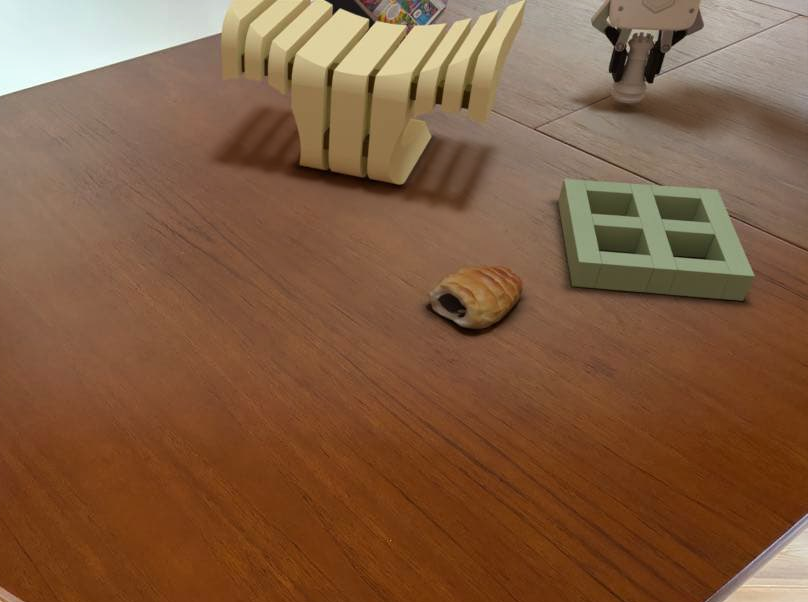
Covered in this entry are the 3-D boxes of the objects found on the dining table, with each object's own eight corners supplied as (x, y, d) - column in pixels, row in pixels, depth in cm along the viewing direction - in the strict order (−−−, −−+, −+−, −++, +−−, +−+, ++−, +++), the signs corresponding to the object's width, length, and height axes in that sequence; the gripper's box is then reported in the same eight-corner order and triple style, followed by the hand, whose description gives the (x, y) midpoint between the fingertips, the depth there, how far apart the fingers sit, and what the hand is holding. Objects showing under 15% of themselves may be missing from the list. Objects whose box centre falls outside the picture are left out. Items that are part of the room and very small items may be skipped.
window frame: (708, 213, 96) (717, 189, 94) (743, 301, 84) (755, 276, 82) (557, 202, 98) (564, 178, 96) (571, 286, 86) (578, 261, 84)
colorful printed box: (432, -4, 133) (384, -112, 121) (501, 41, 117) (454, -77, 105) (325, 79, 136) (268, -18, 124) (379, 133, 121) (319, 29, 109)
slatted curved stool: (226, 162, 105) (219, 11, 93) (275, 109, 116) (275, -34, 103) (468, 210, 97) (496, 51, 84) (497, 148, 107) (526, -2, 95)
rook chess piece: (607, 101, 114) (623, 40, 108) (610, 88, 117) (626, 27, 111) (643, 106, 112) (660, 44, 107) (645, 92, 115) (662, 31, 110)
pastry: (485, 271, 88) (492, 240, 85) (538, 303, 84) (546, 271, 82) (421, 306, 84) (426, 274, 81) (473, 341, 80) (480, 309, 77)
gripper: (603, -69, 99) (569, 88, 111) (756, -66, 96) (703, 93, 109) (596, -86, 104) (564, 65, 117) (740, -84, 102) (692, 70, 114)
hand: (632, 77), depth 113 cm, fingers closed on rook chess piece, 3 cm apart
